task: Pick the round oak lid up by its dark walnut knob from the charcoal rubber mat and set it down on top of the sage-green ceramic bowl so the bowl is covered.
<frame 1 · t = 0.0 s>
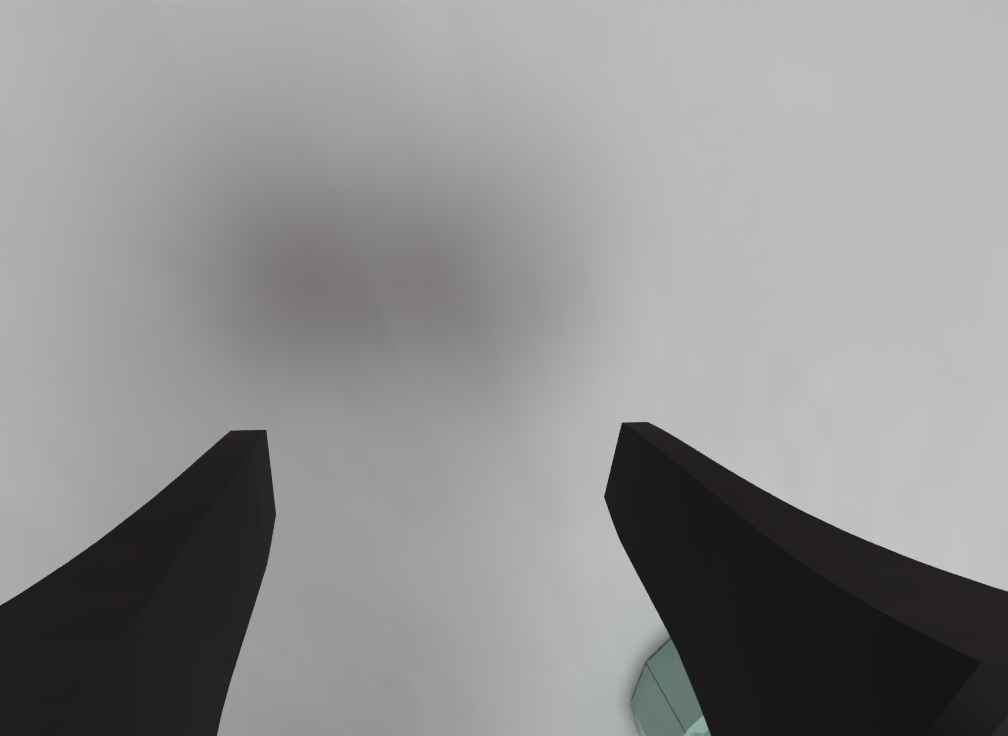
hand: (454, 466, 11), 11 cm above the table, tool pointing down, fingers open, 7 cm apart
bowl: (716, 684, 30), on the table
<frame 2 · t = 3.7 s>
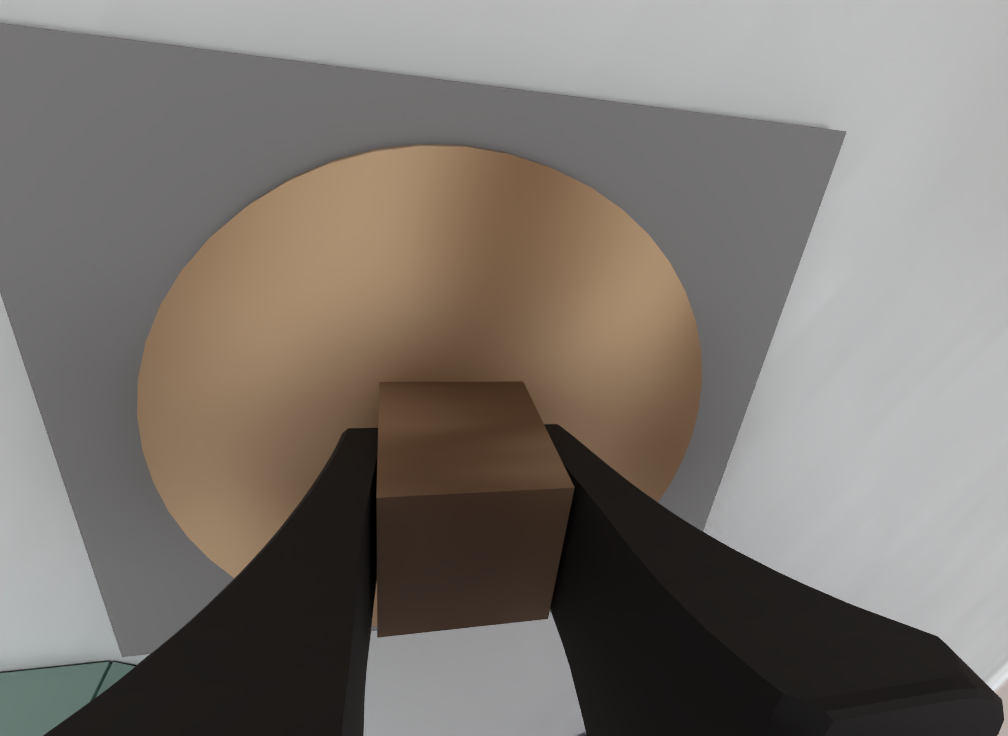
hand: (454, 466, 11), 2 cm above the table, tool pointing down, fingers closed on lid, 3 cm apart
mat: (444, 410, 13), on the table
lid: (445, 421, 12), resting on mat, touching gripper
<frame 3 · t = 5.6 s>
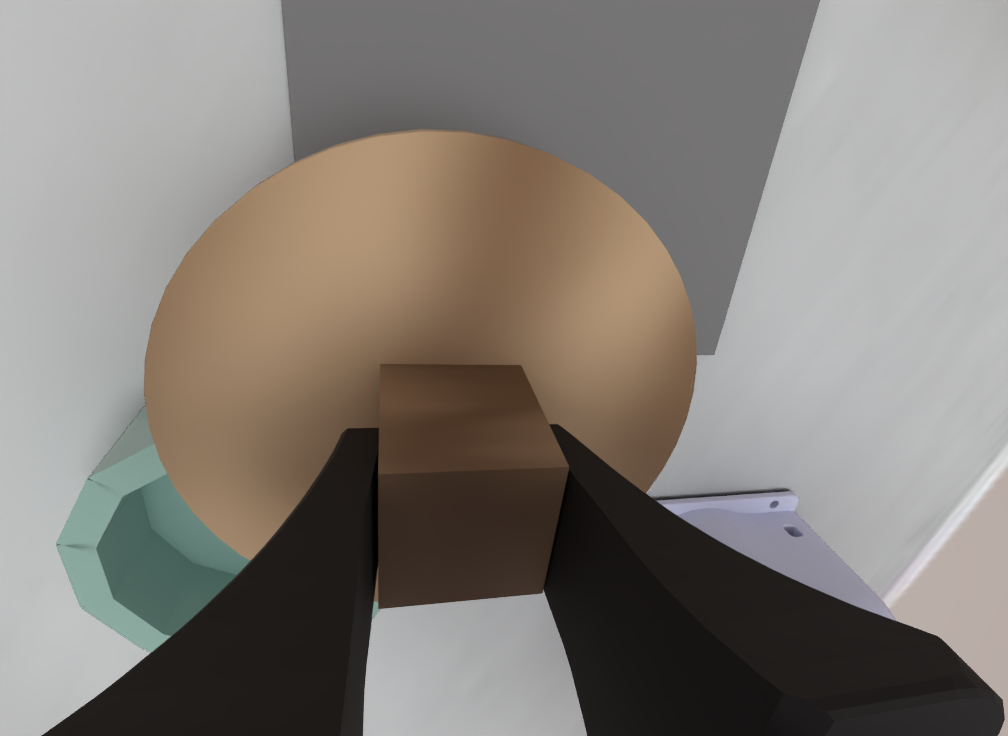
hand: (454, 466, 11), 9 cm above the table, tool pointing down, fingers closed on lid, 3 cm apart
mat: (549, 160, 17), on the table
bowl: (270, 485, 21), on the table
lid: (445, 404, 12), point 7 cm above the table, touching gripper
when the fingers open (7 cm above the table, at t = 7.3 s): lid stays where it is, resting on bowl.
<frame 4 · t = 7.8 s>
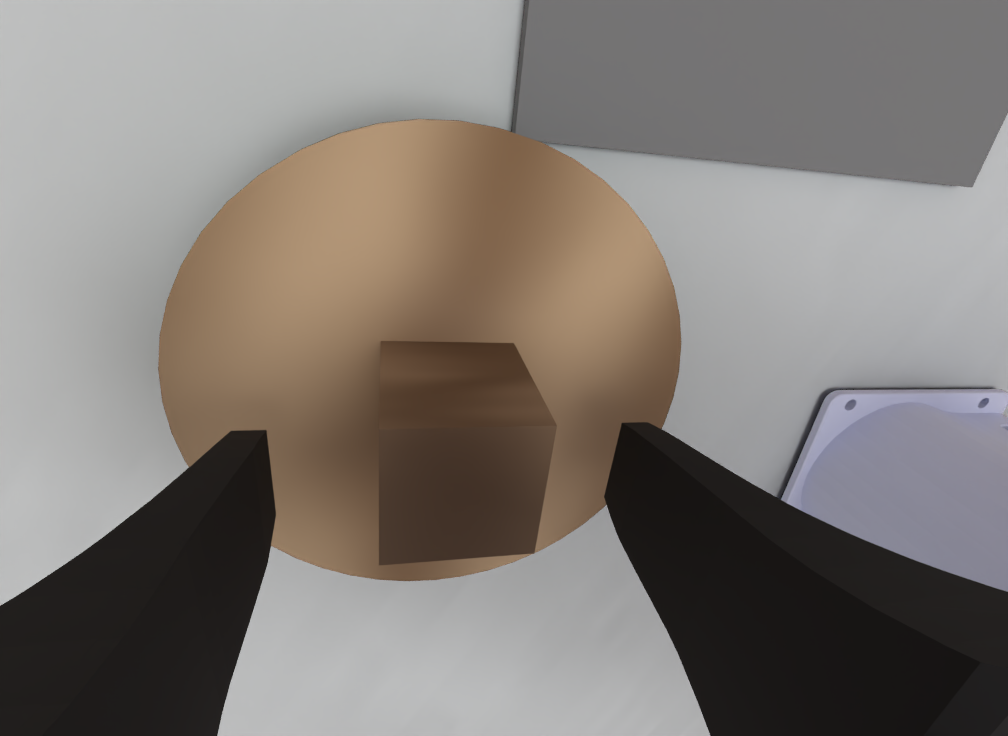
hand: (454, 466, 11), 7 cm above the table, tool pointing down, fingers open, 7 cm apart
lid: (442, 383, 13), point 4 cm above the table, touching bowl
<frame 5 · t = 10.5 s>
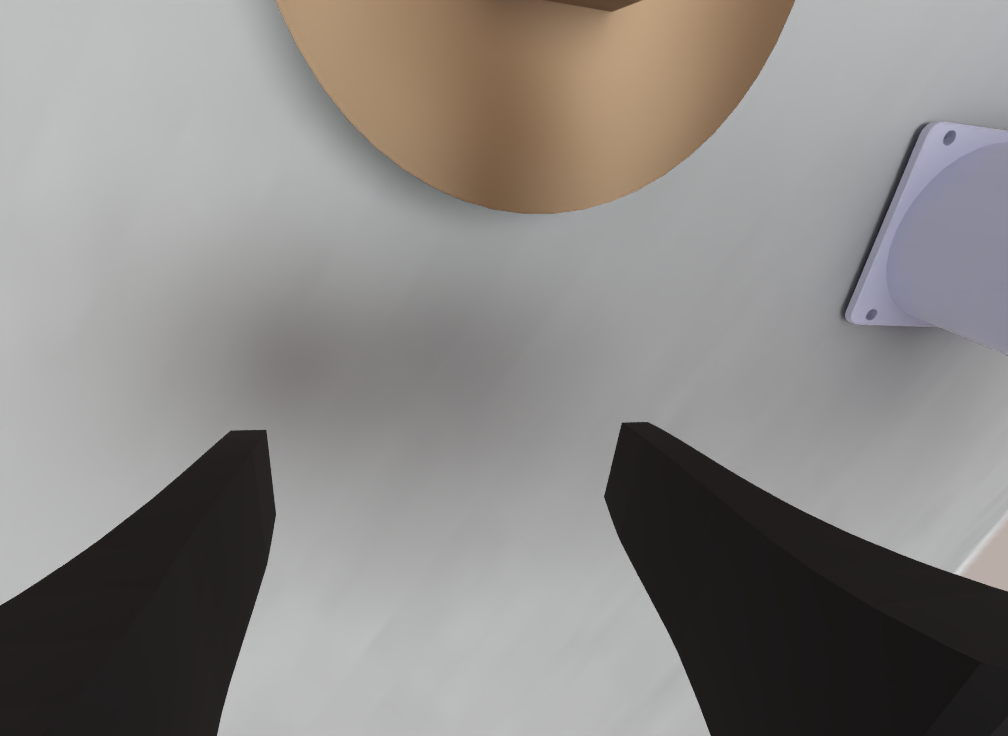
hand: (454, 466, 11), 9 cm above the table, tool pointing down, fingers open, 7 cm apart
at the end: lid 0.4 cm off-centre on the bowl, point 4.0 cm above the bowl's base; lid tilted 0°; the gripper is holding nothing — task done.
